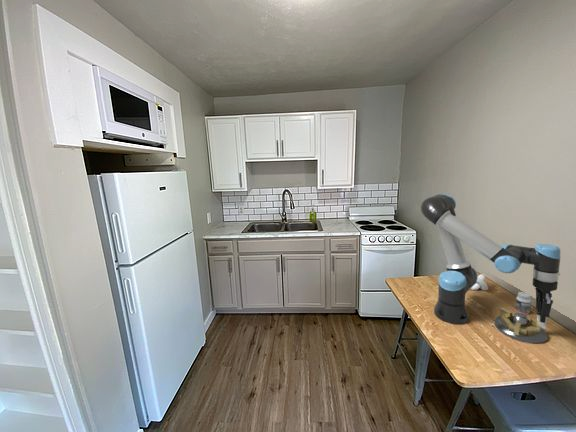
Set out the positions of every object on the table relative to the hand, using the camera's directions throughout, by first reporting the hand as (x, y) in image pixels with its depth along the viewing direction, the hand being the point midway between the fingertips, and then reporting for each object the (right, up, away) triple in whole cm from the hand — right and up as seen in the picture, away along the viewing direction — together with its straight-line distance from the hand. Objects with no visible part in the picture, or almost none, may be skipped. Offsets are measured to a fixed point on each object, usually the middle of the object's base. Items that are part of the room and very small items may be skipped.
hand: (540, 327), depth 110 cm
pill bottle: (+8, 0, +16) cm, 18 cm away
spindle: (-6, -3, +4) cm, 8 cm away
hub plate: (-6, -3, +4) cm, 8 cm away
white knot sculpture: (+2, +5, +42) cm, 42 cm away
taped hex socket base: (-5, -1, +3) cm, 6 cm away
